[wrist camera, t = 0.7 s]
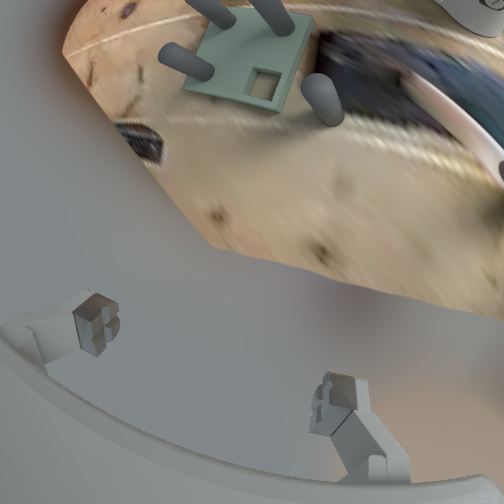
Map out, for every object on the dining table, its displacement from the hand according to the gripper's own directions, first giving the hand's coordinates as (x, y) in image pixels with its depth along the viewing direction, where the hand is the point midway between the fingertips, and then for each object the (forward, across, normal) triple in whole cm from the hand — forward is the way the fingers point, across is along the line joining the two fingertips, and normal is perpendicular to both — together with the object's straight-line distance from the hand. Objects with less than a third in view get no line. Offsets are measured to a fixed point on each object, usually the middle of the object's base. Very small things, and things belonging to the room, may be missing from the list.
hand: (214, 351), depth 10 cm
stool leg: (+41, -3, -13) cm, 43 cm away
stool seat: (+46, +14, -22) cm, 53 cm away
